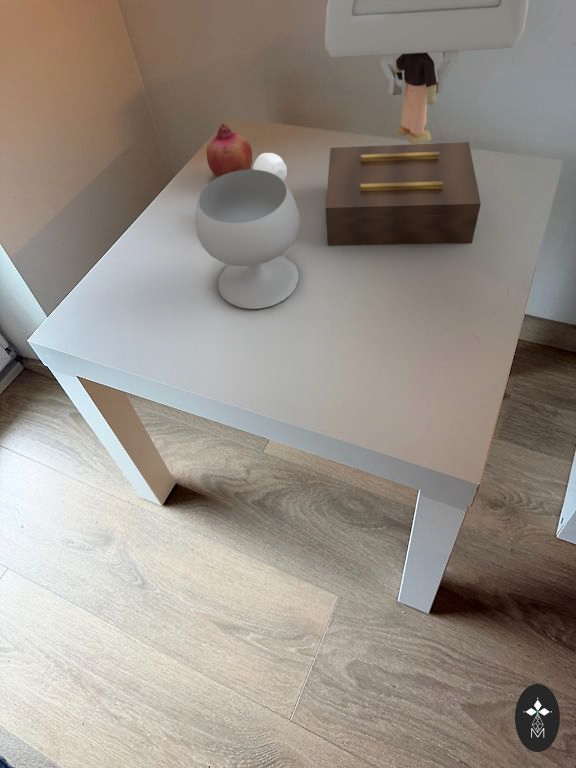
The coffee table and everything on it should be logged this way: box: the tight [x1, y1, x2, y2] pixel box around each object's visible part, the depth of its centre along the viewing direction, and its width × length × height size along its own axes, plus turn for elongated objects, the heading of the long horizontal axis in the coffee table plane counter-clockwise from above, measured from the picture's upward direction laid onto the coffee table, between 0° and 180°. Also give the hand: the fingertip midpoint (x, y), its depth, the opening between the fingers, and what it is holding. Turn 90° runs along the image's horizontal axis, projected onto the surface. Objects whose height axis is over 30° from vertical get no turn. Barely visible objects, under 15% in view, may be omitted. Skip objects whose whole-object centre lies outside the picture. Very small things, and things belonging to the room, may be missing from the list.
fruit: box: [206, 123, 253, 178], centre depth 94 cm, size 8×8×10 cm
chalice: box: [194, 169, 300, 310], centre depth 75 cm, size 14×14×15 cm
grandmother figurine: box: [394, 53, 438, 144], centre depth 60 cm, size 8×4×13 cm, turn 38°
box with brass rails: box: [325, 141, 482, 246], centre depth 85 cm, size 22×16×8 cm
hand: (414, 91), depth 61 cm, fingers closed on grandmother figurine, 3 cm apart
